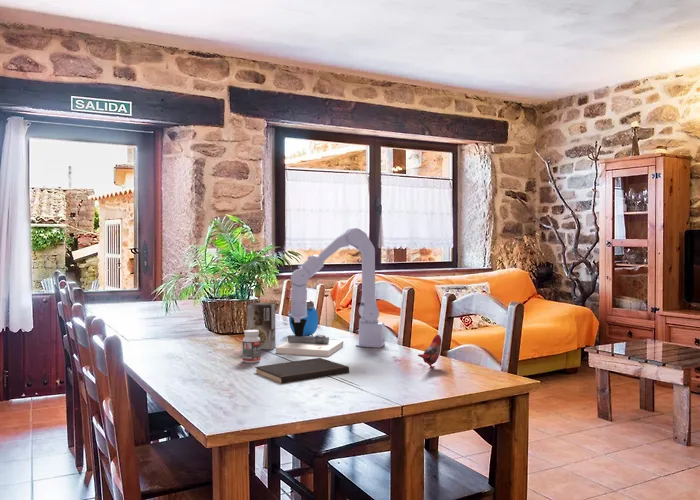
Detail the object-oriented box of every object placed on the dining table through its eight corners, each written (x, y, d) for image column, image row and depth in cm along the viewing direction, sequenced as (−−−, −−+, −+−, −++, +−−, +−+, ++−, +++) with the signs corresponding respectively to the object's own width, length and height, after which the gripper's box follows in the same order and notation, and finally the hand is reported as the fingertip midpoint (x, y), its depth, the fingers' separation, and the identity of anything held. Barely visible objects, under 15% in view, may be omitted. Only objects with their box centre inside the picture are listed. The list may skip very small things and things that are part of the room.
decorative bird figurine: (444, 365, 184) (445, 333, 184) (422, 376, 169) (422, 342, 169) (436, 364, 186) (436, 333, 186) (413, 375, 171) (413, 341, 170)
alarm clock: (318, 337, 233) (318, 300, 233) (305, 339, 230) (306, 301, 229) (300, 333, 244) (300, 297, 243) (288, 334, 240) (288, 298, 240)
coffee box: (276, 346, 214) (276, 302, 214) (271, 349, 208) (272, 304, 207) (251, 345, 215) (251, 302, 214) (246, 349, 208) (247, 304, 208)
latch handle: (329, 342, 211) (329, 335, 211) (327, 343, 207) (327, 337, 207) (290, 340, 214) (290, 333, 214) (287, 341, 211) (287, 335, 211)
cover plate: (343, 346, 215) (343, 340, 215) (328, 356, 197) (328, 350, 197) (294, 343, 220) (294, 337, 220) (275, 353, 202) (275, 347, 202)
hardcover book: (255, 374, 173) (255, 366, 173) (320, 364, 187) (320, 357, 187) (281, 385, 160) (281, 377, 160) (349, 374, 174) (349, 366, 174)
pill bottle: (256, 363, 185) (256, 332, 185) (239, 362, 186) (239, 331, 186) (262, 359, 191) (262, 329, 190) (246, 359, 192) (246, 329, 192)
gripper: (290, 300, 220) (290, 335, 221) (285, 304, 206) (285, 342, 206) (308, 300, 220) (308, 336, 221) (305, 304, 206) (305, 343, 206)
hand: (298, 339), depth 213 cm, fingers closed
